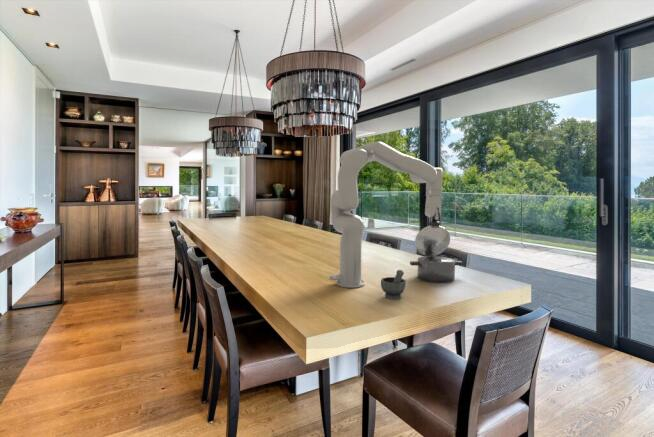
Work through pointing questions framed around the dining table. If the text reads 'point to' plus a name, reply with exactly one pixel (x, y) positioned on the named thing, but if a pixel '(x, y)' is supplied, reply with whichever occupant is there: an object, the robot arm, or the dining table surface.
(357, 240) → the robot arm
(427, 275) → the pot
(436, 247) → the pot lid
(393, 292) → the mortar and pestle
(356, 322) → the dining table surface
